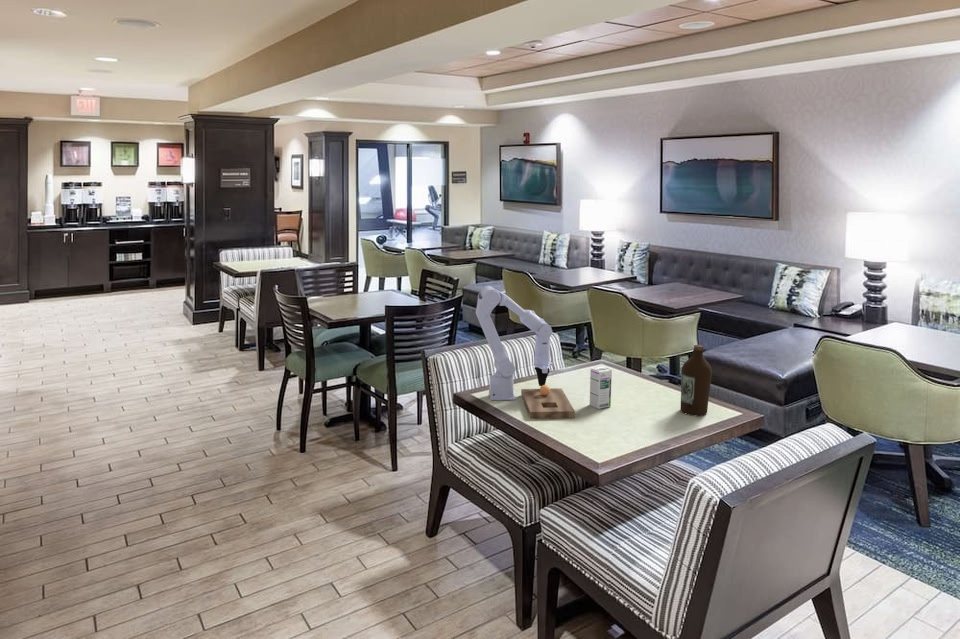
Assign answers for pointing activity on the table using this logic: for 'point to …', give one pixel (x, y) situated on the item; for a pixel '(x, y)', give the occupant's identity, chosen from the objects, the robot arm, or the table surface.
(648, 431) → the table surface
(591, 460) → the table surface
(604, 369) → the syrup box
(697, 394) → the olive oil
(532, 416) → the brown wooden flat board
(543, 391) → the ball
